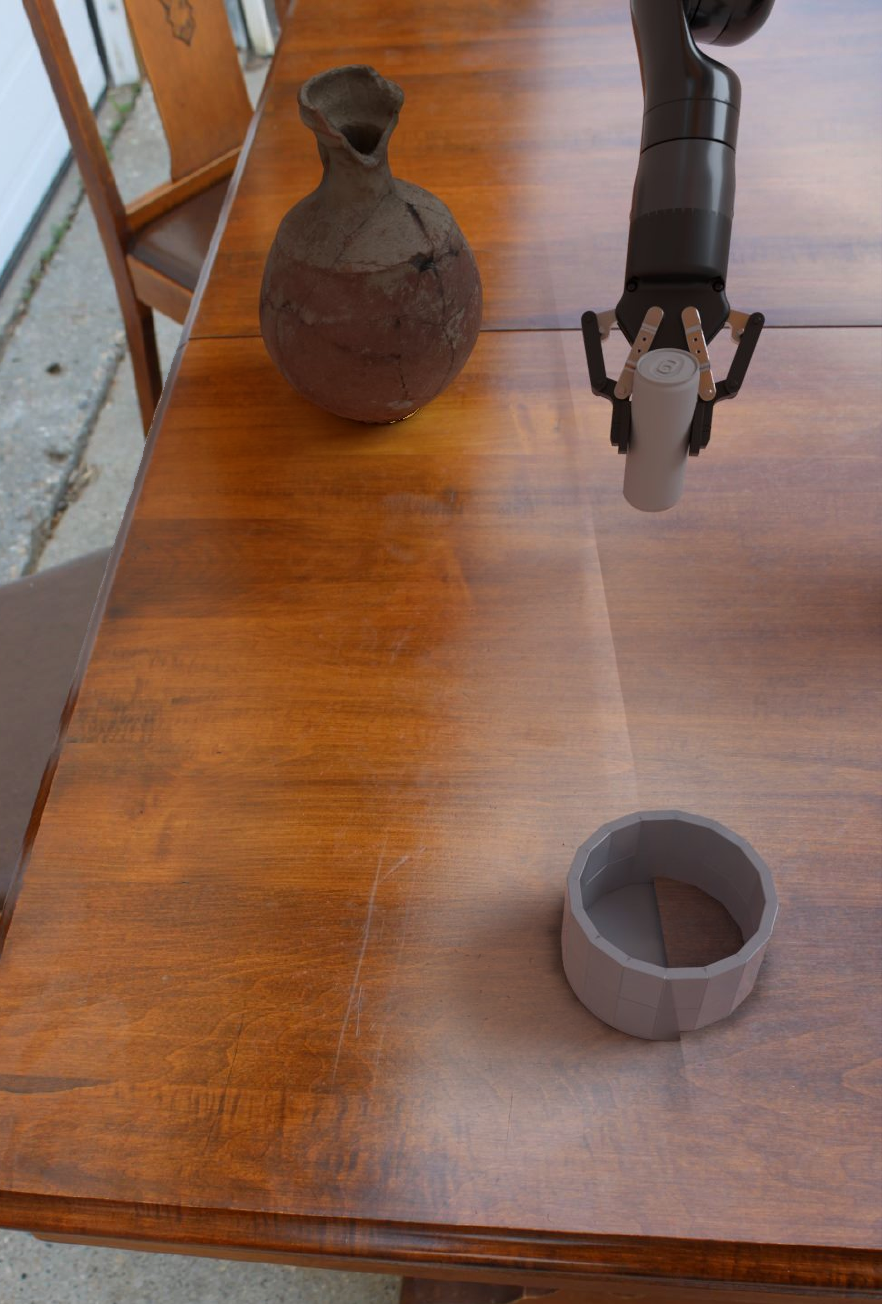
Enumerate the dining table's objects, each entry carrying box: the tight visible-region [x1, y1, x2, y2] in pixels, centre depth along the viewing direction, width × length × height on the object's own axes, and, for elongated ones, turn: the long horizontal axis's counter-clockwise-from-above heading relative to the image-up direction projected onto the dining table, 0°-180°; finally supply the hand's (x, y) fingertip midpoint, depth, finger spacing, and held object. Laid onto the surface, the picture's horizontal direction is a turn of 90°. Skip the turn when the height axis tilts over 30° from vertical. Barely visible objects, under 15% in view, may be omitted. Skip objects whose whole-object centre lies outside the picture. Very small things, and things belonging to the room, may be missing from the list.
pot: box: [560, 809, 780, 1042], centre depth 78 cm, size 13×13×8 cm
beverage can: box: [622, 348, 700, 513], centre depth 94 cm, size 5×5×12 cm
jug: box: [258, 63, 484, 425], centre depth 112 cm, size 22×22×30 cm
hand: (658, 453), depth 93 cm, fingers closed on beverage can, 4 cm apart
